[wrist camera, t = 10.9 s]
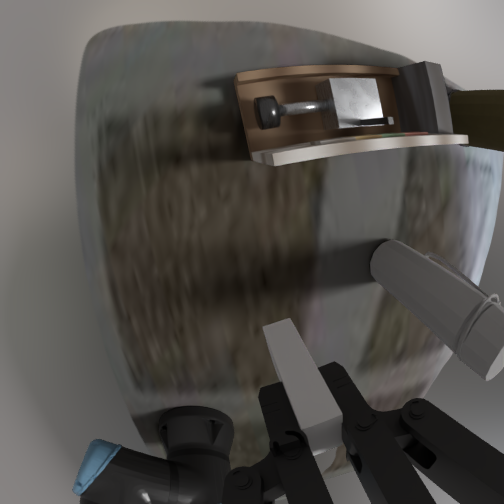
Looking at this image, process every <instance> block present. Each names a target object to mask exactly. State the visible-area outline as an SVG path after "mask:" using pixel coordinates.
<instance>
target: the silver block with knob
mask: <svg viewBox="0 0 504 504" xmlns="http://www.w3.org/2000/svg"><path fill="white" fill-rule="evenodd" d="M315 87H316V92H317V96H318V100H312V101H302V102H293V103H285V104H278V102H277V100H276V98H275V97H274V96H273V95H269V96H263V97H256V98H254V112H255V117H256V121H257V124H258V126H259V128H260V130H266V129H272V128H278V127H279V126H280V123H281V117H283V116H290V115H298V114H306V113H315V112H321V115H322V120H323V125H324V130H329V129H339V128H349V127H360V126H374V125H385V124H394V123H393V117H383V114H382V108H381V103H380V98H379V93H378V89H377V84H376V80H375V79H373V78H329V79H327V80H325V81H323V82H321V83H319V84H317V85H315Z"/></svg>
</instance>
